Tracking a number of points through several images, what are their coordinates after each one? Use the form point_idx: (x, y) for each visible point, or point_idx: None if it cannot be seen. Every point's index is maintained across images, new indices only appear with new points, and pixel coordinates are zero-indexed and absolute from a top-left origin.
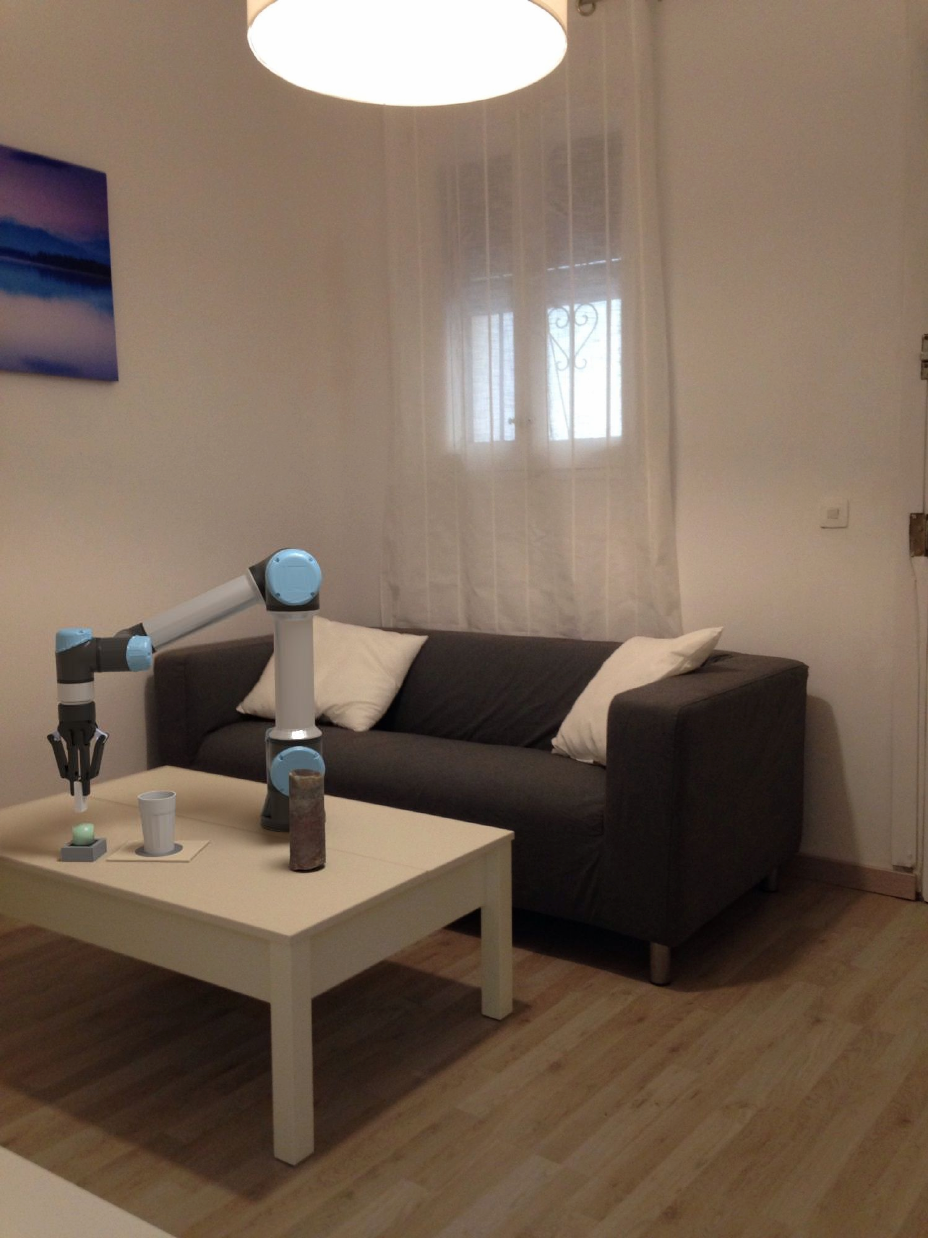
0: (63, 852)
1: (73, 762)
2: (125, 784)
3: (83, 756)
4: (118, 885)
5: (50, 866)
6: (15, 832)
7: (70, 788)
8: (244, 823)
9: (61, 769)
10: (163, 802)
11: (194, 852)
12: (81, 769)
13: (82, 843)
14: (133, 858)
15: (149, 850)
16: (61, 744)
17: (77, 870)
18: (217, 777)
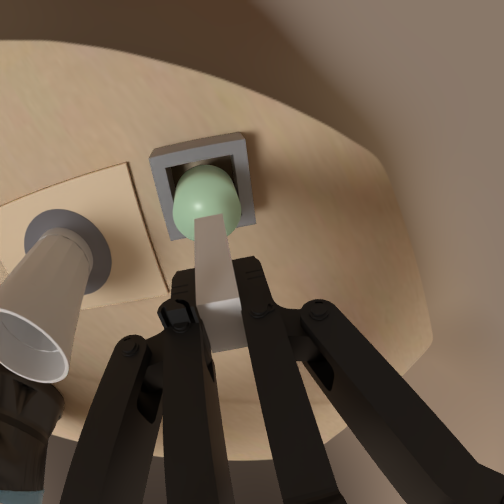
0: (235, 137)
1: (262, 412)
2: (331, 428)
3: (178, 470)
4: (10, 43)
5: (246, 93)
6: (413, 277)
7: (264, 278)
8: (73, 386)
9: (343, 342)
10: None
11: (3, 258)
12: (192, 376)
13: (190, 169)
14: (70, 190)
15: (58, 231)
16: (409, 496)
17: (154, 82)
18: (242, 460)
